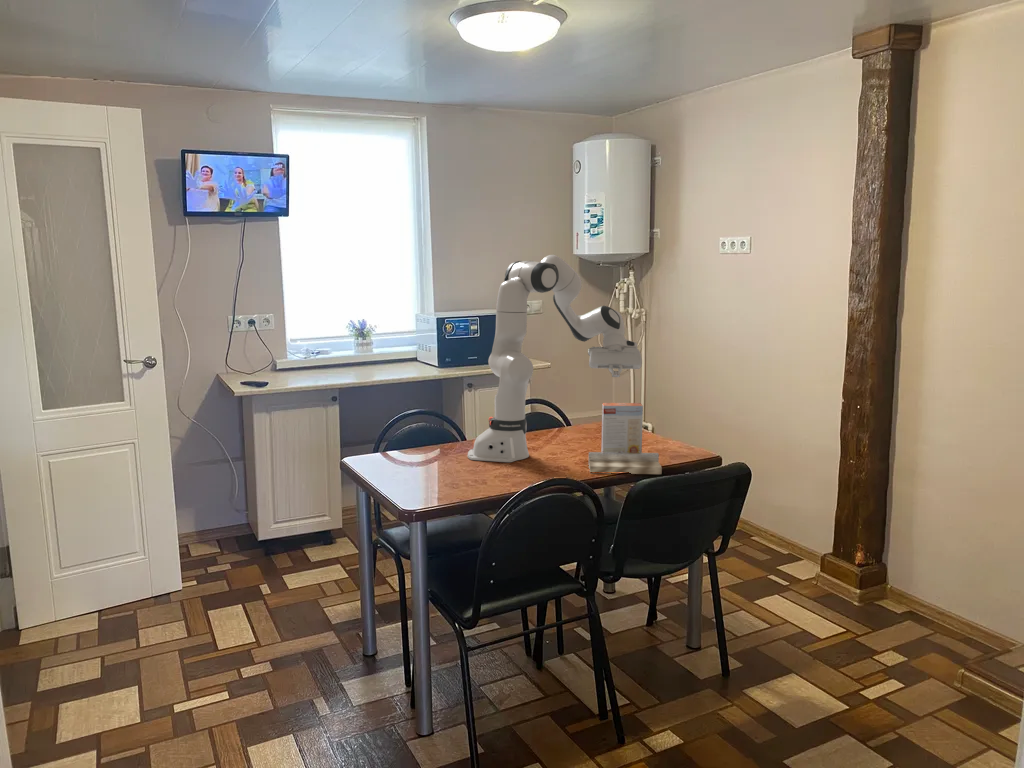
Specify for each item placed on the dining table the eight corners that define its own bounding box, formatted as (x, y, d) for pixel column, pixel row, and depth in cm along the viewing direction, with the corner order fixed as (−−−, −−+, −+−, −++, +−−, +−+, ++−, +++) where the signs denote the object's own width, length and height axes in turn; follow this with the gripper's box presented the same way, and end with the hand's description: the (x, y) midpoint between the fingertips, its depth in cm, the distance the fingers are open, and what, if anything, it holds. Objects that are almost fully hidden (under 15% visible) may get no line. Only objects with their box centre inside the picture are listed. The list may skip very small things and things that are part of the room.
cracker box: (639, 458, 281) (641, 402, 277) (641, 463, 275) (643, 405, 272) (600, 458, 281) (602, 401, 278) (602, 462, 275) (603, 405, 272)
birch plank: (590, 473, 262) (590, 466, 262) (588, 467, 269) (589, 460, 269) (661, 474, 262) (661, 467, 261) (658, 468, 269) (658, 461, 268)
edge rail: (588, 467, 269) (589, 453, 268) (588, 465, 271) (588, 452, 270) (658, 468, 269) (658, 454, 268) (657, 466, 271) (657, 452, 270)
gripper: (588, 341, 301) (589, 370, 293) (641, 342, 300) (643, 371, 292) (587, 351, 306) (588, 380, 298) (639, 352, 305) (641, 381, 298)
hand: (616, 376), depth 295 cm, fingers closed
